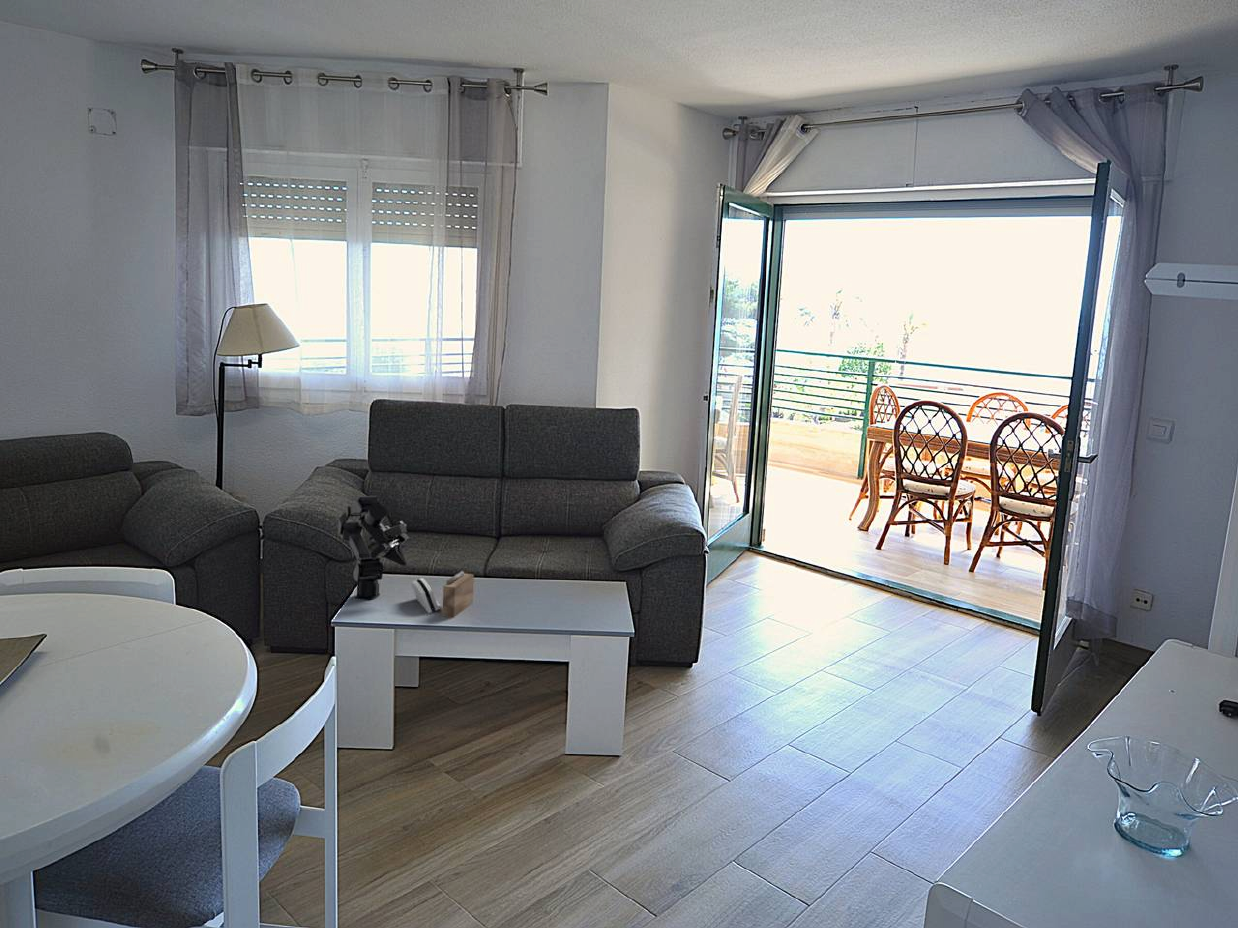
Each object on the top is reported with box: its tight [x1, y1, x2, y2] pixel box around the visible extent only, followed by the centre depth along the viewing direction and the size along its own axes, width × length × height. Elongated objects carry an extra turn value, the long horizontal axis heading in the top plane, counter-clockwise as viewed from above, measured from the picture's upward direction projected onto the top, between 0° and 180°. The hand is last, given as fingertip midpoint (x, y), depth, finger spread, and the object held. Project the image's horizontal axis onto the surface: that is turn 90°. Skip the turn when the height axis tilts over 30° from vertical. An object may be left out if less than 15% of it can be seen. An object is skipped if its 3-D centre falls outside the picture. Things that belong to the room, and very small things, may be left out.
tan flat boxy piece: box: [441, 570, 475, 618], centre depth 312 cm, size 4×17×11 cm, turn 168°
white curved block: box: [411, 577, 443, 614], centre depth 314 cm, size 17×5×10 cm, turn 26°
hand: (405, 565), depth 314 cm, fingers closed
